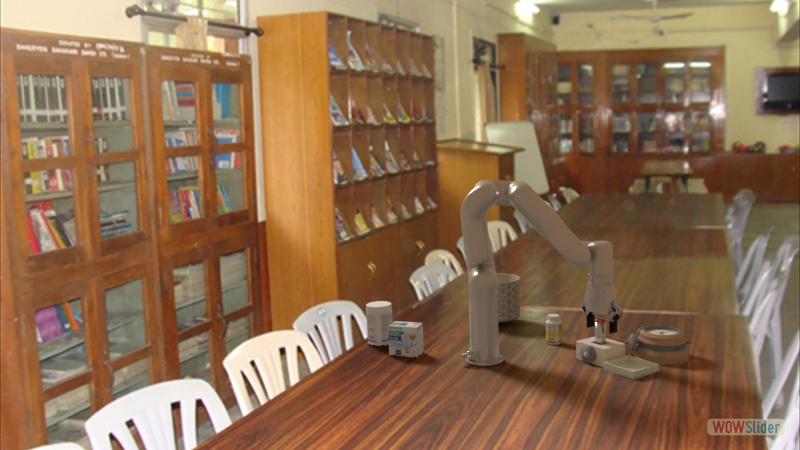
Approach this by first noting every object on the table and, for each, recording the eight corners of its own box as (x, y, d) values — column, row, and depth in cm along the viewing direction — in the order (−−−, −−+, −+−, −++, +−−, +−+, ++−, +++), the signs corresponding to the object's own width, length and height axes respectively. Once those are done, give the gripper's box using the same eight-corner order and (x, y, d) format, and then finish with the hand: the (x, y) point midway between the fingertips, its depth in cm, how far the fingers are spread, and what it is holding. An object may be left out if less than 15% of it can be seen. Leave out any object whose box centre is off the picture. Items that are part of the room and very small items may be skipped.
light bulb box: (388, 355, 270) (387, 325, 269) (395, 350, 276) (394, 320, 275) (417, 358, 266) (417, 327, 265) (424, 352, 273) (423, 322, 271)
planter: (497, 332, 294) (497, 285, 292) (461, 323, 309) (460, 278, 306) (530, 322, 307) (529, 277, 304) (494, 314, 321) (493, 271, 318)
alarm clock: (680, 340, 246) (609, 330, 260) (680, 368, 247) (609, 357, 261) (696, 327, 260) (628, 318, 273) (695, 354, 261) (627, 344, 274)
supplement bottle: (559, 340, 281) (559, 312, 280) (563, 344, 276) (563, 316, 274) (544, 341, 281) (543, 313, 279) (548, 345, 275) (548, 317, 274)
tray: (633, 379, 238) (633, 372, 238) (603, 370, 248) (603, 362, 247) (658, 371, 244) (659, 364, 244) (628, 362, 254) (628, 355, 254)
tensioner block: (599, 368, 249) (600, 350, 248) (572, 359, 259) (572, 342, 258) (624, 361, 256) (625, 343, 255) (597, 352, 266) (597, 335, 265)
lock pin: (600, 353, 255) (600, 320, 253) (592, 350, 258) (592, 318, 256) (608, 351, 257) (608, 318, 255) (599, 348, 260) (600, 316, 258)
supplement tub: (393, 338, 290) (392, 300, 288) (394, 346, 281) (392, 306, 279) (367, 339, 290) (365, 301, 288) (367, 347, 281) (365, 307, 279)
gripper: (573, 276, 259) (574, 326, 262) (613, 284, 245) (614, 337, 247) (589, 273, 263) (589, 322, 266) (629, 280, 249) (630, 332, 251)
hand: (601, 329), depth 256 cm, fingers open, 9 cm apart
